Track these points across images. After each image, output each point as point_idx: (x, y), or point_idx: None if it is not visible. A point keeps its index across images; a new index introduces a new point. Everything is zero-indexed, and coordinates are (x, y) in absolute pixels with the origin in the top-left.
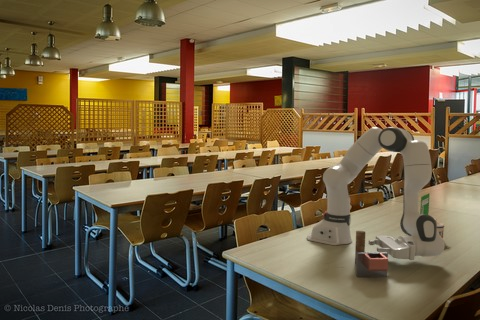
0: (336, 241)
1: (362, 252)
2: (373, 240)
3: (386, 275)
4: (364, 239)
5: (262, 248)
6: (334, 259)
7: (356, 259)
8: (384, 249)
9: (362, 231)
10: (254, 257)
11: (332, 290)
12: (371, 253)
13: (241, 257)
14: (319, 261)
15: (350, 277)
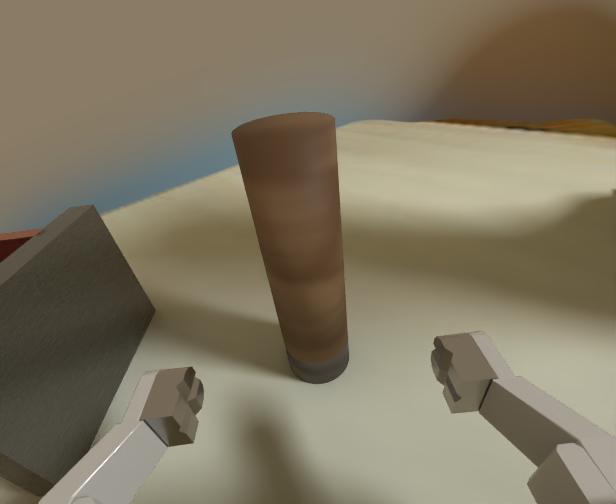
0: None
1: (65, 223)
2: (507, 385)
3: (33, 488)
4: (256, 214)
5: (420, 138)
6: (369, 257)
7: (109, 242)
8: (95, 456)
9: (297, 129)
10: (343, 140)
11: None
12: (3, 260)
13: (339, 132)
14: None
15: (145, 291)
